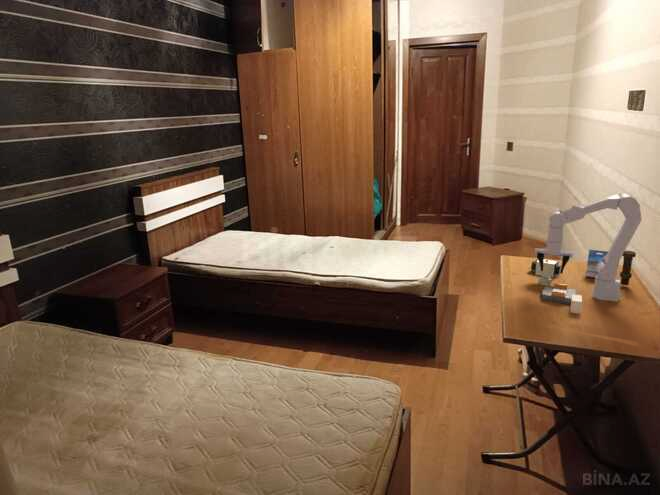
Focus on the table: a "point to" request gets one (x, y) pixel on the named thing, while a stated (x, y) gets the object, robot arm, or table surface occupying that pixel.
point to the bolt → (627, 267)
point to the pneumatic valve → (546, 271)
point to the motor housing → (557, 293)
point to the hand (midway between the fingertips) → (551, 271)
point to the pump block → (576, 303)
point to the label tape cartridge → (594, 262)
